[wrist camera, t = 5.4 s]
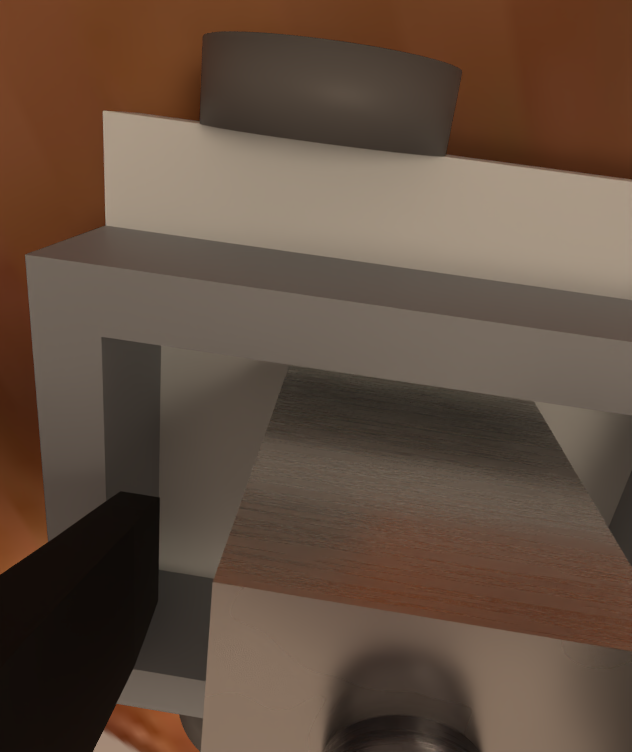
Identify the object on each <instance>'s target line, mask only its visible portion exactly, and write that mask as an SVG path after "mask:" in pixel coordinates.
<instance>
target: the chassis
mask: <svg viewBox="0 0 632 752" xmlns="http://www.w3.org/2000/svg"><path fill="white" fill-rule="evenodd" d="M461 76H462V70H461V69H459V68H458V67H455V66H453V65H451V64H448V63H445V62H442V61H438V60H435V59H431V58H427V57H423V56H419V55H415V54H410V53H406V52H401V51H396V50H391V49H385V48H380V47H374V46H368V45H362V44H356V43H349V42H343V41H335V40H328V39H321V38H312V37H304V36H294V35H284V34H273V33H259V32H212V33H207V34H204V35H203V46H202V73H201V99H200V121H194V120H187V119H180V118H172V117H165V116H157V115H150V114H142V113H132V112H117V111H103V137H104V179H105V221H106V225H105V226H103V227H100V228H97V229H94V230H92V231H89V232H86V233H83V234H81V235H78V236H75V237H72V238H70V239H67V240H64V241H61V242H58V243H56V244H53V245H50V246H47V247H45V248H42V249H39V250H36V251H34V252H31V253H28V254H25V260H26V272H27V285H28V297H29V309H30V322H31V334H32V347H33V359H34V371H35V384H36V396H37V409H38V421H39V433H40V446H41V458H42V471H43V483H44V495H45V508H46V520H47V533H48V542H49V541H50V540H52V539H53V538H55V537H56V536H57V535H59V534H60V533H62V532H63V531H64V530H66V529H67V528H69V527H70V526H71V525H73V524H74V523H76V522H77V521H78V520H80V519H81V518H83V517H84V516H85V515H87V514H88V513H90V512H91V511H92V510H94V509H95V508H97V507H98V506H100V505H101V504H102V503H104V502H105V501H107V500H108V499H110V498H111V497H113V496H114V495H116V494H117V493H118V492H120V491H123V492H129V493H136V494H142V495H148V496H155V497H160V523H159V585H158V603H157V606H156V608H155V611H154V614H153V617H152V620H151V623H150V625H149V628H148V631H147V634H146V637H145V639H144V642H143V645H142V647H141V650H140V653H139V656H138V658H137V661H136V664H135V666H134V668H133V670H132V673H131V675H130V677H129V679H128V681H127V683H126V685H125V687H124V689H123V691H122V693H121V695H120V697H119V699H118V701H117V703H116V704H122V705H128V706H134V707H140V708H145V709H151V710H157V711H163V712H169V713H175V714H179V715H180V719H181V722H182V725H183V728H184V730H185V732H186V734H187V736H188V737H189V739H190V740H191V742H192V743H193V744H194V746H195V747H196V748H197V749H198V750H199V751H200V752H201V741H202V727H203V712H204V698H205V684H206V670H207V656H208V641H209V627H210V613H211V599H212V584H213V580H214V577H215V574H216V571H217V568H218V566H219V563H220V560H221V557H222V554H223V551H224V549H225V546H226V543H227V540H228V537H229V534H230V532H231V529H232V526H233V523H234V520H235V517H236V515H237V512H238V509H239V506H240V503H241V501H242V498H243V495H244V492H245V489H246V486H247V484H248V481H249V478H250V475H251V472H252V469H253V467H254V464H255V461H256V458H257V455H258V452H259V450H260V447H261V444H262V441H263V438H264V436H265V433H266V430H267V427H268V424H269V421H270V419H271V416H272V413H273V410H274V407H275V404H276V402H277V399H278V396H279V393H280V390H281V388H282V385H283V382H284V379H285V376H286V373H287V371H288V368H289V365H295V366H301V367H308V368H315V369H322V370H328V371H335V372H342V373H348V374H355V375H362V376H369V377H375V378H382V379H389V380H395V381H402V382H409V383H416V384H422V385H429V386H436V387H443V388H449V389H456V390H463V391H469V392H476V393H483V394H490V395H496V396H503V397H510V398H516V399H523V400H530V401H534V402H535V404H536V406H537V407H538V409H539V411H540V413H541V414H542V416H543V418H544V419H545V421H546V423H547V424H548V426H549V428H550V430H551V431H552V433H553V435H554V436H555V438H556V440H557V441H558V443H559V445H560V446H561V448H562V450H563V452H564V453H565V455H566V457H567V458H568V460H569V462H570V463H571V465H572V467H573V469H574V470H575V472H576V474H577V475H578V477H579V479H580V480H581V482H582V484H583V485H584V487H585V489H586V491H587V492H588V494H589V496H590V497H591V499H592V501H593V502H594V504H595V506H596V508H597V509H598V511H599V513H600V514H601V516H602V518H603V519H604V521H605V523H606V525H607V526H608V528H609V530H610V531H611V533H612V535H613V536H614V538H615V540H616V541H617V543H618V545H619V547H620V548H621V550H622V552H623V553H624V555H625V557H626V558H627V560H628V562H629V564H630V565H631V567H632V179H625V178H617V177H610V176H603V175H595V174H588V173H580V172H573V171H566V170H558V169H551V168H543V167H536V166H528V165H521V164H514V163H506V162H499V161H491V160H484V159H476V158H469V157H462V156H454V155H447V154H446V151H447V146H448V141H449V136H450V131H451V126H452V121H453V116H454V111H455V106H456V101H457V96H458V91H459V86H460V81H461Z"/></svg>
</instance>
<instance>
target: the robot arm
mask: <svg viewBox="0 0 632 752" xmlns="http://www.w3.org/2000/svg"><path fill="white" fill-rule="evenodd" d="M159 523H160V497H155V496H148V495H142V494H136V493H129V492H123V491H120V492H118V493H117V494H116V495H114V496H113V497H111V498H110V499H108V500H107V501H105V502H104V503H102V504H101V505H100V506H98V507H97V508H95V509H94V510H92V511H91V512H90V513H88V514H87V515H85V516H84V517H83V518H81V519H80V520H78V521H77V522H76V523H74V524H73V525H71V526H70V527H69V528H67V529H66V530H64V531H63V532H62V533H60V534H59V535H57V536H56V537H55V538H53V539H52V540H50V541H49V542H47V543H46V544H45V545H43V546H42V547H40V548H39V549H37V550H36V551H34V552H33V553H32V554H30V555H29V556H27V557H26V558H24V559H23V560H21V561H20V562H18V563H17V564H15V565H14V566H13V567H11V568H10V569H8V570H7V571H5V572H4V573H2V574H1V575H0V752H93V750H94V748H95V746H96V744H97V742H98V740H99V738H100V736H101V734H102V732H103V730H104V728H105V726H106V724H107V722H108V720H109V718H110V716H111V714H112V712H113V710H114V708H115V706H116V703H117V701H118V699H119V697H120V695H121V693H122V691H123V689H124V687H125V685H126V683H127V681H128V679H129V677H130V675H131V673H132V670H133V668H134V666H135V664H136V661H137V658H138V656H139V653H140V650H141V647H142V645H143V642H144V639H145V637H146V634H147V631H148V628H149V625H150V623H151V620H152V617H153V614H154V611H155V608H156V606H157V603H158V585H159Z"/></svg>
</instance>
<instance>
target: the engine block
mask: <svg viewBox="0 0 632 752" xmlns="http://www.w3.org/2000/svg"><path fill="white" fill-rule="evenodd" d="M201 752H632V567H631V565H630V564H629V562H628V560H627V558H626V557H625V555H624V553H623V552H622V550H621V548H620V547H619V545H618V543H617V541H616V540H615V538H614V536H613V535H612V533H611V531H610V530H609V528H608V526H607V525H606V523H605V521H604V519H603V518H602V516H601V514H600V513H599V511H598V509H597V508H596V506H595V504H594V502H593V501H592V499H591V497H590V496H589V494H588V492H587V491H586V489H585V487H584V485H583V484H582V482H581V480H580V479H579V477H578V475H577V474H576V472H575V470H574V469H573V467H572V465H571V463H570V462H569V460H568V458H567V457H566V455H565V453H564V452H563V450H562V448H561V446H560V445H559V443H558V441H557V440H556V438H555V436H554V435H553V433H552V431H551V430H550V428H549V426H548V424H547V423H546V421H545V419H544V418H543V416H542V414H541V413H540V411H539V409H538V407H537V406H536V404H535V402H534V401H530V400H523V399H516V398H510V397H503V396H496V395H490V394H483V393H476V392H469V391H463V390H456V389H449V388H443V387H436V386H429V385H422V384H416V383H409V382H402V381H395V380H389V379H382V378H375V377H369V376H362V375H355V374H348V373H342V372H335V371H328V370H322V369H315V368H308V367H301V366H295V365H289V368H288V371H287V373H286V376H285V379H284V382H283V385H282V388H281V390H280V393H279V396H278V399H277V402H276V404H275V407H274V410H273V413H272V416H271V419H270V421H269V424H268V427H267V430H266V433H265V436H264V438H263V441H262V444H261V447H260V450H259V452H258V455H257V458H256V461H255V464H254V467H253V469H252V472H251V475H250V478H249V481H248V484H247V486H246V489H245V492H244V495H243V498H242V501H241V503H240V506H239V509H238V512H237V515H236V517H235V520H234V523H233V526H232V529H231V532H230V534H229V537H228V540H227V543H226V546H225V549H224V551H223V554H222V557H221V560H220V563H219V566H218V568H217V571H216V574H215V577H214V580H213V584H212V599H211V613H210V627H209V641H208V656H207V670H206V684H205V698H204V712H203V727H202V741H201Z"/></svg>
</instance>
